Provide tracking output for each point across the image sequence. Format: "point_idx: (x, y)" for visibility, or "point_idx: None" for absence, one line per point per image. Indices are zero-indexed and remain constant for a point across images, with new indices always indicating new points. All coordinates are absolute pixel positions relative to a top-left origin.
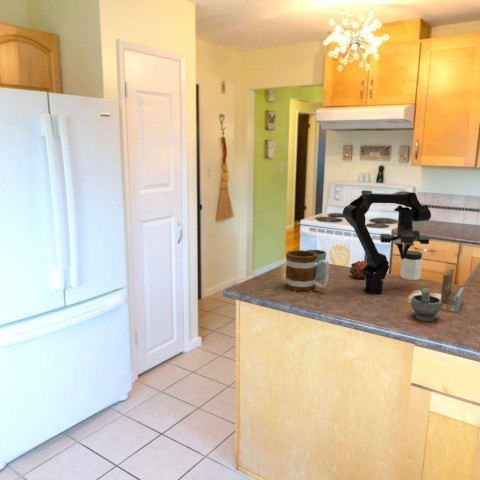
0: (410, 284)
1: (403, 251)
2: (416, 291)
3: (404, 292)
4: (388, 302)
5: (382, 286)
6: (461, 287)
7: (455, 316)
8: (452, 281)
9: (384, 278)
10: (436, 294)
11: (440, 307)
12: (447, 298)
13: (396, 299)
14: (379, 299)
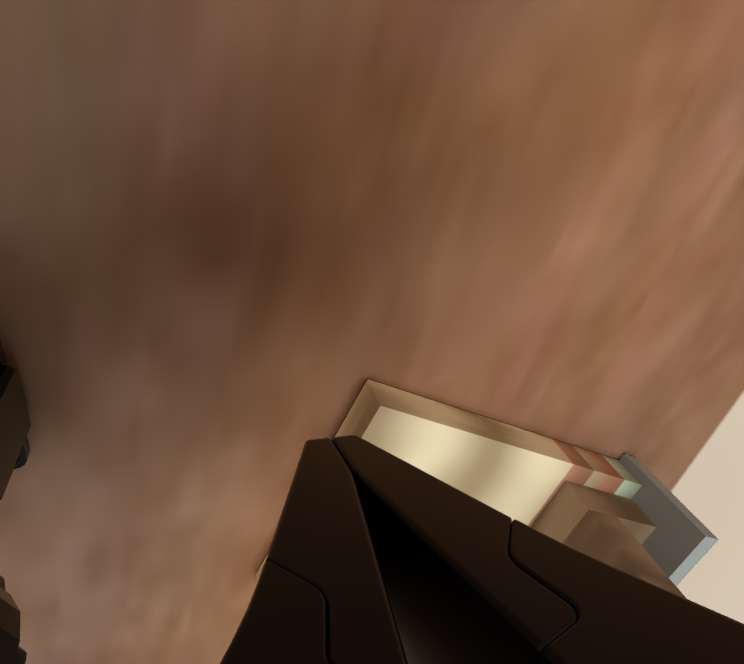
0: (429, 6)
1: (402, 639)
2: None
3: (282, 342)
4: (101, 613)
5: (14, 462)
6: (703, 542)
7: None
8: (677, 592)
9: (3, 582)
10: (513, 474)
11: None
12: None
13: (175, 536)
14: (17, 581)
